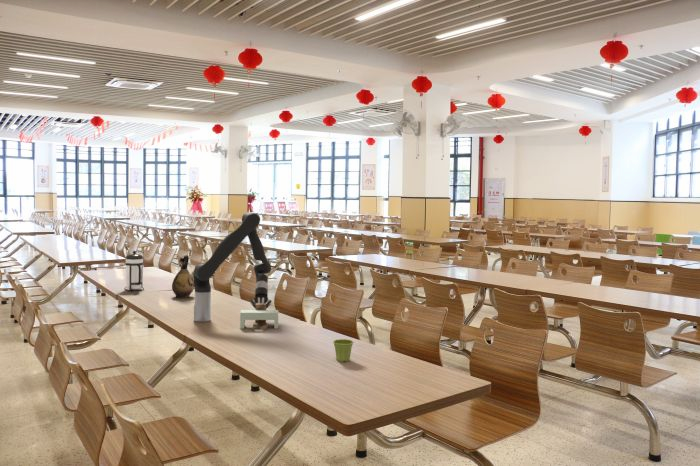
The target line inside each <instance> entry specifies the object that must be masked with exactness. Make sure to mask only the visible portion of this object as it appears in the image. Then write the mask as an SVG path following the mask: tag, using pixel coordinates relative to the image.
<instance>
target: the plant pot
mask: <svg viewBox="0 0 700 466" xmlns="http://www.w3.org/2000/svg"><path fill="white" fill-rule="evenodd" d="M332 342H333V345H334V351H335V359H336V361H337V362H339V363H343V362H349V361H350V360H351V354H352V347H353V344H355V342H354V341H353V340H351V339H345V338H341V339H340V338H339V339H335V340H333V341H332Z"/></svg>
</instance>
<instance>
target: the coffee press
mask: <svg viewBox="0 0 700 466" xmlns="http://www.w3.org/2000/svg"><path fill="white" fill-rule="evenodd" d="M124 258H125V287H124V290H125V291H126V290H128V292H132V291H133V290H141V291H144V290H145V288H144V287H143V285H144V284H143V282H144V281H143V280H144V279H143V277H144V275H143V274H144V273H143V271H144V270H143V268H144V261H143V260H144V257H143V255H141V254H140V253H137V251H136V250H133V251H132V253H129V254H127V255H125V257H124Z"/></svg>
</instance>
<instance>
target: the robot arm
mask: <svg viewBox="0 0 700 466" xmlns="http://www.w3.org/2000/svg"><path fill="white" fill-rule="evenodd" d="M260 223H261V217H260V215H259V214H258V213H255V212H248V211H247V212H245V213H243V214H242V217H241V224H240V225H239V226H238V227H237V228H236V229H235V230H233V231H231V232H230V233H229V234H227V235H226V236H225V237H224V238H223V239H221V241H220V242H219V243H218V245H217V247H216V248H215V250H214V251H213V253H212V255H211V257H210V258H209V259H208V260H207V261H206V262H205V263H199V264H197V265H195V267H194V269H193V280H194V304H193V322H198V323H199V322H200V323H201V322H205V323H206V322H210V321H211V320H212V319H211V316H212V315H211V313H212V312H211V311H212V310H211V309H212V307H211V306H212V305H211V304H212V300H211V299H212V287H211V284H210V279H211V278H212V277H213V275H215V273H216V272H217V270H218V269H219V267H220V266H221V265H222V263H224V262H225V261H226V260H227V258H228V257H229V256H230V255H232V253H234V251H235V250H236V249H237V248H238V246H239V245H241V243H242V242H243V241H244V240H245V239H246V237H247V238H248V241H249V244H250V248H251V252H252V256H253V259H254V260H255V261H258V262H260V263H256V264H254V266H253V271H254V274H255V280H256V281H255V285H254V286H255V290H254V298H253V299H251V300H249V301H250V304H251V306H252V307H253V308H254V309H255V306H256V303H266V310H268V308H269V307H270V306H271V305H272V300H271V299H269V296H268V295H269V283H268V281H269V278H268V274H270V273H271V271H272V265H271V264H270V262H269V260H268V258H267V256H266V253H265V250H264V246H263V242H262V240H261V239H260V237H259V234H258V232H257V227H258V226H259V224H260ZM266 274H267V275H266Z"/></svg>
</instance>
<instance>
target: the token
mask: <svg viewBox="0 0 700 466" xmlns="http://www.w3.org/2000/svg"><path fill="white" fill-rule="evenodd" d="M262 331H263V332H264V330H263V329H261V328H257V329H254V330H253V332H254V333H263V332H262Z"/></svg>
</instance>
